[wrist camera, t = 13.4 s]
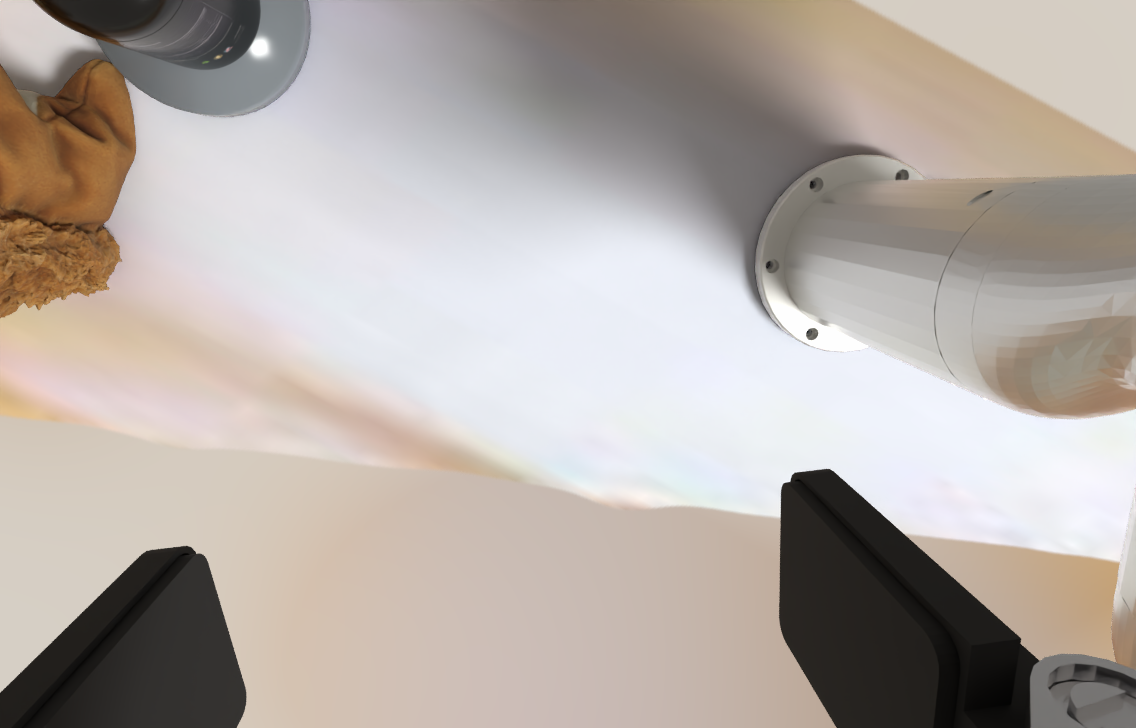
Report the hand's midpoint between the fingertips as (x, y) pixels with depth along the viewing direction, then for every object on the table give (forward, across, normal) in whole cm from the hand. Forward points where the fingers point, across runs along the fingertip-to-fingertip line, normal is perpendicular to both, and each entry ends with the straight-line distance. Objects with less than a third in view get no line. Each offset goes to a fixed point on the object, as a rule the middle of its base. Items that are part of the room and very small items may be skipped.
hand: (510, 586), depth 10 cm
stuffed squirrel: (+31, +25, -8) cm, 41 cm away
